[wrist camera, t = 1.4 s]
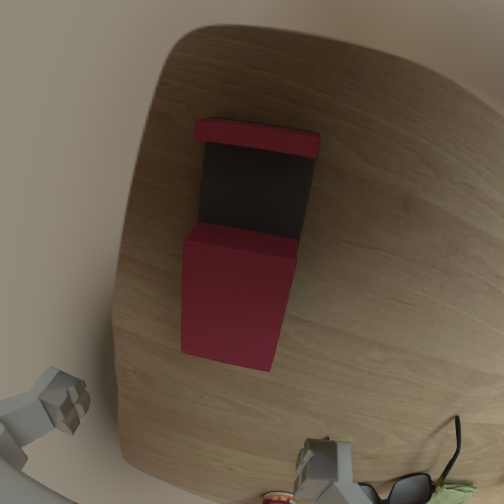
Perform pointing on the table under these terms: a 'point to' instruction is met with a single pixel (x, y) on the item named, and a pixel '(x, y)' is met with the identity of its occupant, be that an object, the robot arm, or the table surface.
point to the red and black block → (244, 239)
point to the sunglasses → (414, 483)
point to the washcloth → (452, 494)
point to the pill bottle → (279, 498)
